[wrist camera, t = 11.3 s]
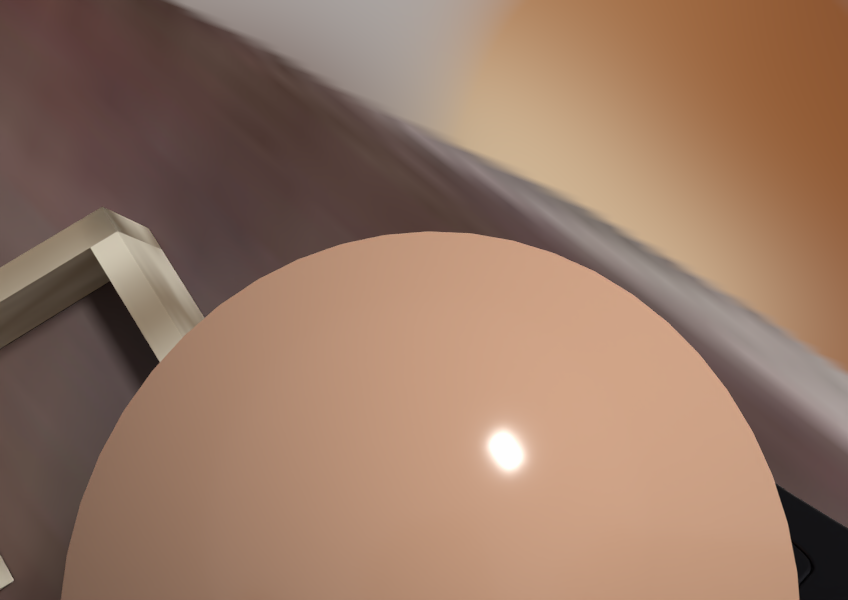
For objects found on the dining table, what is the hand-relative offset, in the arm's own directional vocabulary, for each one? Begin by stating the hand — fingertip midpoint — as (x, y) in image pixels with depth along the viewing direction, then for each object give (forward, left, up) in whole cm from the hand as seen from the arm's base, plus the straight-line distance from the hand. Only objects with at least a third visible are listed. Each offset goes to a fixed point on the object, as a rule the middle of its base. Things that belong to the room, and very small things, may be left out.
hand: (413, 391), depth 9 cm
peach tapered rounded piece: (-1, -1, -7) cm, 7 cm away
